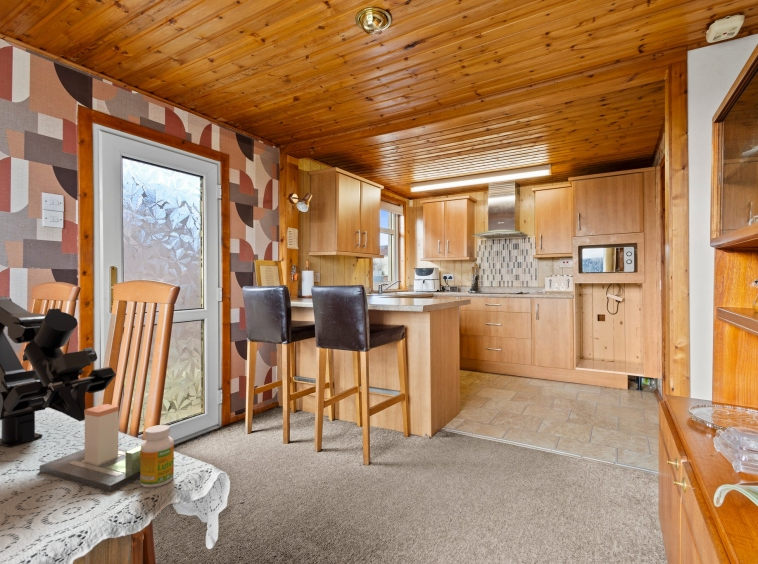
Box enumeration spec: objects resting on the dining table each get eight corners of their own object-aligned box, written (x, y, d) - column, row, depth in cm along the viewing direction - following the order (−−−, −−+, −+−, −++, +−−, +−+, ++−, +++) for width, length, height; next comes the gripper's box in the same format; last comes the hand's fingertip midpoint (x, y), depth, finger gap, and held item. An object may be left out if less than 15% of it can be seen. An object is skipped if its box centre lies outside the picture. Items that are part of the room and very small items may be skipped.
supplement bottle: (158, 490, 70) (159, 435, 70) (132, 486, 71) (133, 432, 71) (180, 475, 75) (180, 424, 75) (155, 472, 77) (155, 422, 77)
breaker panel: (39, 471, 77) (39, 445, 77) (97, 449, 87) (97, 425, 87) (110, 492, 69) (110, 462, 69) (164, 465, 79) (164, 439, 79)
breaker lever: (84, 460, 79) (84, 409, 78) (105, 452, 82) (105, 403, 82) (98, 464, 77) (98, 412, 77) (118, 455, 81) (118, 406, 81)
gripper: (12, 343, 75) (48, 408, 71) (110, 332, 92) (144, 383, 88) (-12, 381, 78) (22, 445, 74) (88, 363, 95) (119, 414, 91)
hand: (83, 419), depth 82 cm, fingers closed
